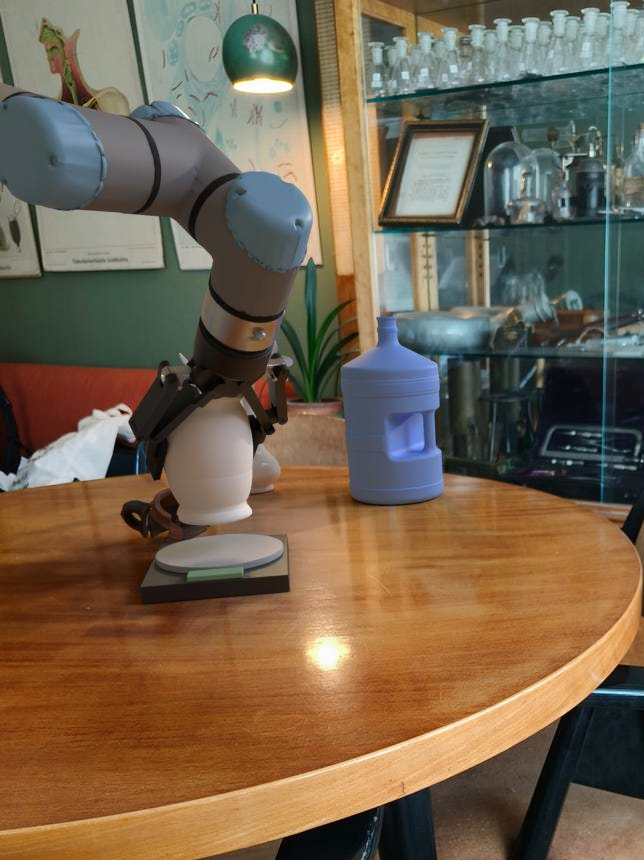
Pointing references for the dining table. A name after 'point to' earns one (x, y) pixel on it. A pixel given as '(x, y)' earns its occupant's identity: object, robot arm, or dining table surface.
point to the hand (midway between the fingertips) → (199, 464)
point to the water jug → (391, 422)
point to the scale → (218, 568)
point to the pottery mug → (160, 518)
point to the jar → (212, 463)
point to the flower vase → (261, 449)
